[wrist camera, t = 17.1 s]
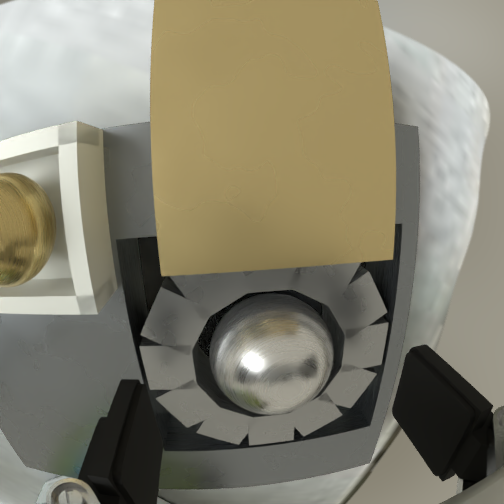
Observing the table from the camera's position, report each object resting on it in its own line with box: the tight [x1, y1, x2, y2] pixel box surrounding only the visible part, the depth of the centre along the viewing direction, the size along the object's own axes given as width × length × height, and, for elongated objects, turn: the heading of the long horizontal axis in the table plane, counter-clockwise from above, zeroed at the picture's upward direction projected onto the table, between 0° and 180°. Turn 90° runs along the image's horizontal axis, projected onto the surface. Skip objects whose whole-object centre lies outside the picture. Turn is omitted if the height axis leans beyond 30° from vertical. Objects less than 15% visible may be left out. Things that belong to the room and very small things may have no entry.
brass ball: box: [0, 172, 56, 287], centre depth 7 cm, size 4×4×4 cm
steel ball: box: [209, 293, 334, 415], centre depth 12 cm, size 5×5×5 cm
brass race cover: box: [150, 0, 396, 276], centre depth 8 cm, size 6×8×2 cm
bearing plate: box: [0, 122, 420, 489], centre depth 13 cm, size 22×18×3 cm
